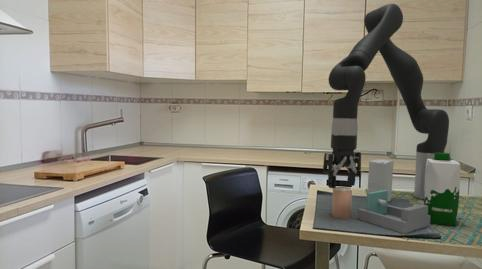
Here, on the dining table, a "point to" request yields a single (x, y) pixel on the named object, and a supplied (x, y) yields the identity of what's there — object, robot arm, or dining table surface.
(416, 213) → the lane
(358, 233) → the dining table surface
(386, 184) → the skincare box
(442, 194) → the milk carton
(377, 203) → the plate
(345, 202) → the jar
